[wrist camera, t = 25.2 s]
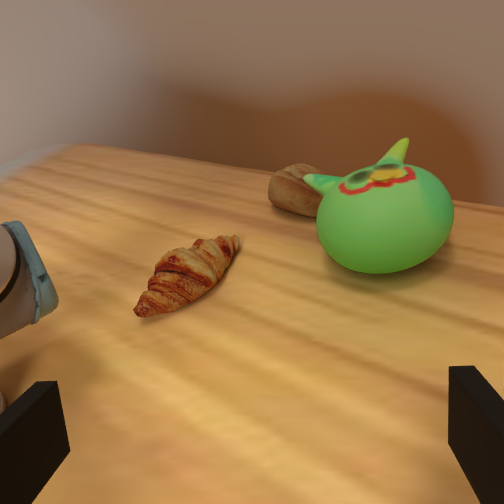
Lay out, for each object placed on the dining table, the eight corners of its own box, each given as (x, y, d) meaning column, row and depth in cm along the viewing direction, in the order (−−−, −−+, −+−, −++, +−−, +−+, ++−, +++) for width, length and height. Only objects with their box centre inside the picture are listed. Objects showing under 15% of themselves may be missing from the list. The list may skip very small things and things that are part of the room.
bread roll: (321, 233, 74) (313, 190, 70) (257, 212, 84) (248, 174, 80) (355, 204, 79) (350, 162, 74) (291, 188, 89) (283, 150, 84)
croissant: (232, 258, 80) (208, 220, 79) (265, 248, 72) (238, 206, 70) (139, 334, 69) (108, 292, 67) (165, 333, 61) (130, 285, 59)
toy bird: (342, 310, 59) (327, 216, 51) (309, 241, 73) (293, 159, 65) (475, 272, 59) (482, 172, 51) (417, 211, 73) (415, 124, 65)
